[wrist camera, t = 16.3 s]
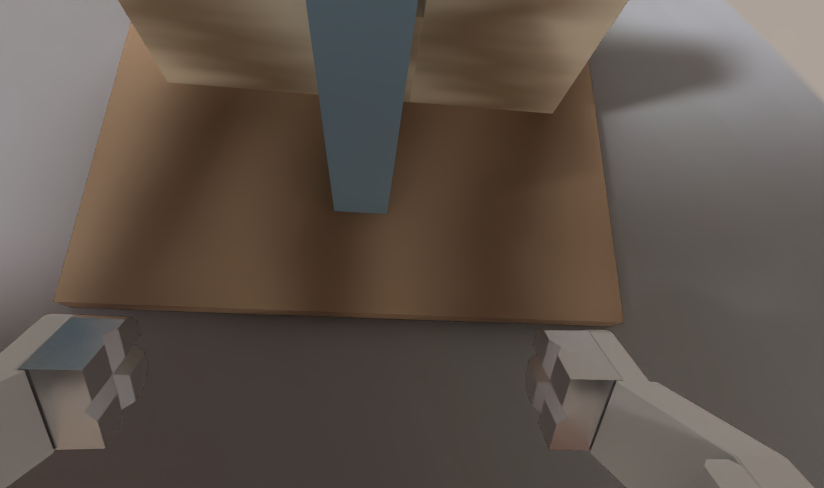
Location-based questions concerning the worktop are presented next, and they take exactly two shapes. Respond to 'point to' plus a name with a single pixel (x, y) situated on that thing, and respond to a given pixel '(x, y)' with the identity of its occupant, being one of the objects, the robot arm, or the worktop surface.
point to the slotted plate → (361, 93)
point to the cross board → (310, 182)
